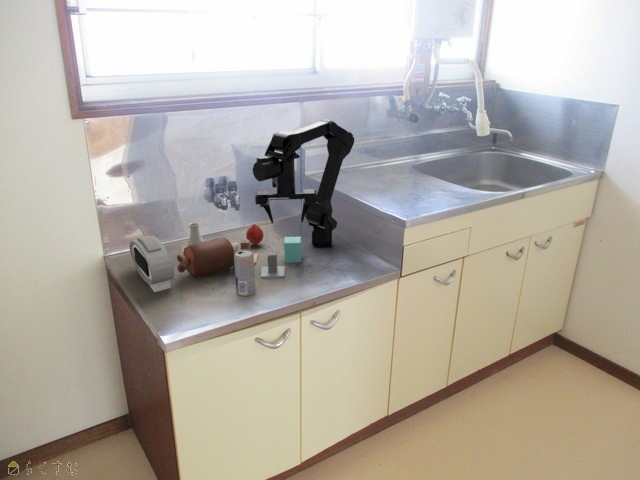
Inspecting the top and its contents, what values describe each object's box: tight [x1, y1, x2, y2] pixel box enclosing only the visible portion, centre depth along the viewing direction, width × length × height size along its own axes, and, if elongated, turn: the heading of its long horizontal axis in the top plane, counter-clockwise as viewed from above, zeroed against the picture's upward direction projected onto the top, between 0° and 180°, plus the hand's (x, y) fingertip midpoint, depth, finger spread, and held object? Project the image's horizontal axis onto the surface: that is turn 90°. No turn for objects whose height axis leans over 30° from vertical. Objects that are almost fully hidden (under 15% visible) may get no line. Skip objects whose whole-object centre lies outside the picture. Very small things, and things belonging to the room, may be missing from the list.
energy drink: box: [234, 249, 257, 297], centre depth 145 cm, size 5×5×12 cm
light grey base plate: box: [260, 251, 286, 279], centre depth 157 cm, size 7×7×6 cm
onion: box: [245, 223, 264, 246], centre depth 177 cm, size 6×6×8 cm
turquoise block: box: [283, 236, 302, 263], centre depth 167 cm, size 5×5×7 cm
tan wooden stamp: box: [234, 239, 259, 266], centre depth 166 cm, size 7×7×6 cm
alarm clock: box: [129, 235, 175, 293], centre depth 152 cm, size 23×6×13 cm, turn 33°
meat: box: [176, 237, 240, 279], centre depth 157 cm, size 20×12×10 cm, turn 128°
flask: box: [187, 222, 205, 247], centre depth 171 cm, size 7×7×10 cm
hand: (287, 222), depth 164 cm, fingers open, 9 cm apart
